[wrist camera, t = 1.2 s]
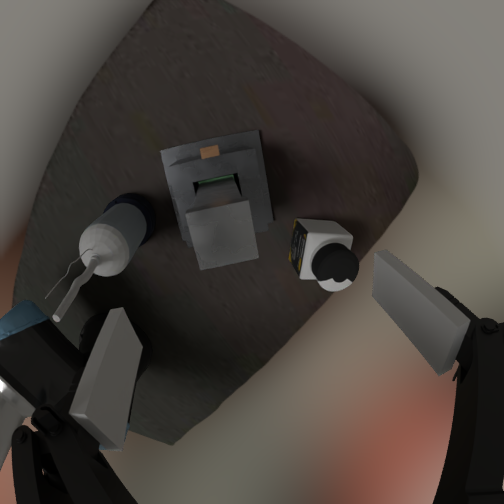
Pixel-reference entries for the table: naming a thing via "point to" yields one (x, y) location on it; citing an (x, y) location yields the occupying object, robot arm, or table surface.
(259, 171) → the stand housing
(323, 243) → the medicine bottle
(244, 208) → the column
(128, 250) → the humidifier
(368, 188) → the table surface
